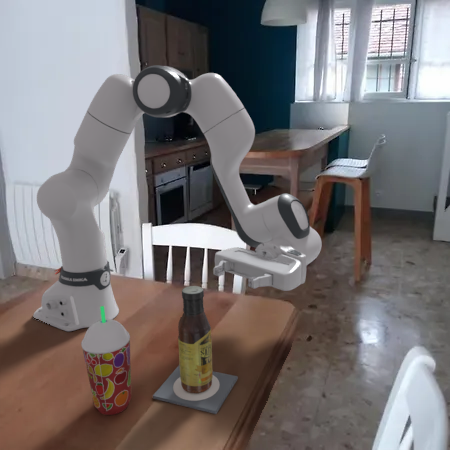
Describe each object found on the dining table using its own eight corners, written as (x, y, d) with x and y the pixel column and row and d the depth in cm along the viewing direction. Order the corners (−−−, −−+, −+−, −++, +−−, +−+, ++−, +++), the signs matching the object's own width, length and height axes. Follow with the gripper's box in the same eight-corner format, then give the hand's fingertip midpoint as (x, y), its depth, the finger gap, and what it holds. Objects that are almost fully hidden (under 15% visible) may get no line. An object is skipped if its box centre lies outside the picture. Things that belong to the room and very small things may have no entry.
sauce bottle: (208, 397, 83) (204, 298, 77) (176, 393, 84) (170, 296, 79) (216, 376, 89) (213, 284, 84) (186, 373, 90) (181, 282, 85)
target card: (153, 398, 84) (152, 395, 84) (180, 366, 94) (179, 363, 94) (216, 414, 79) (216, 410, 79) (237, 379, 89) (237, 376, 89)
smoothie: (95, 392, 86) (83, 298, 81) (138, 389, 87) (129, 295, 81) (85, 422, 78) (71, 319, 73) (133, 418, 79) (123, 316, 73)
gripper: (237, 237, 106) (196, 252, 96) (312, 256, 92) (273, 276, 83) (237, 262, 107) (197, 279, 97) (311, 284, 94) (272, 307, 84)
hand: (232, 277), depth 90 cm, fingers open, 8 cm apart
